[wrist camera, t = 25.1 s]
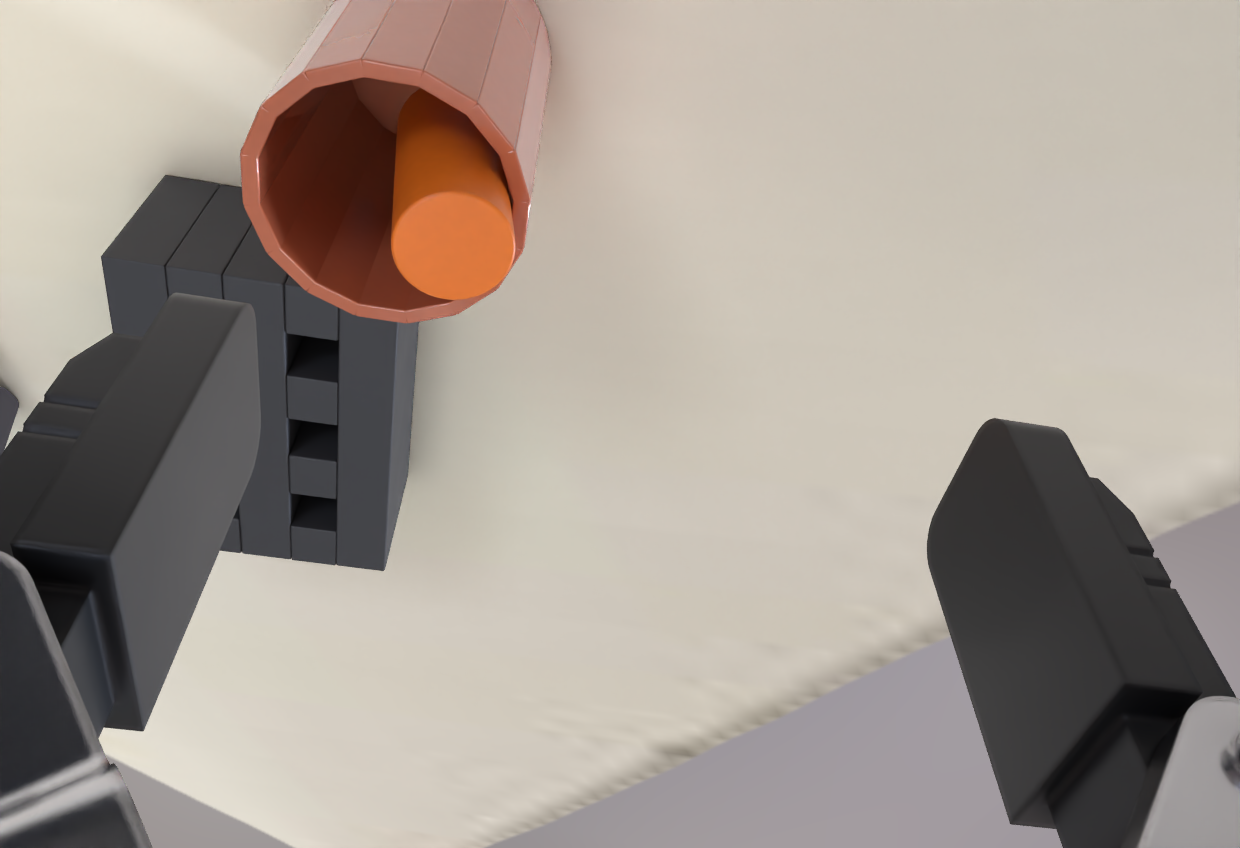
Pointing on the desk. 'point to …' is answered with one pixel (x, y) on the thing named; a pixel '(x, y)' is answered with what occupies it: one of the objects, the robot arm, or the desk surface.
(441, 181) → the orange cylinder rod
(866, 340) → the desk surface
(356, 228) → the pen cup
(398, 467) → the holder
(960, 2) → the desk surface
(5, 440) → the clip-on lamp
